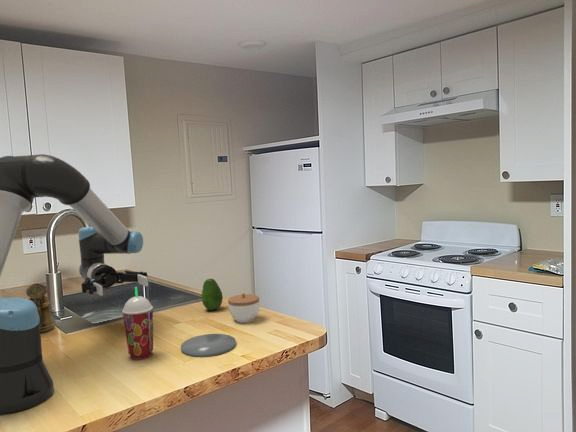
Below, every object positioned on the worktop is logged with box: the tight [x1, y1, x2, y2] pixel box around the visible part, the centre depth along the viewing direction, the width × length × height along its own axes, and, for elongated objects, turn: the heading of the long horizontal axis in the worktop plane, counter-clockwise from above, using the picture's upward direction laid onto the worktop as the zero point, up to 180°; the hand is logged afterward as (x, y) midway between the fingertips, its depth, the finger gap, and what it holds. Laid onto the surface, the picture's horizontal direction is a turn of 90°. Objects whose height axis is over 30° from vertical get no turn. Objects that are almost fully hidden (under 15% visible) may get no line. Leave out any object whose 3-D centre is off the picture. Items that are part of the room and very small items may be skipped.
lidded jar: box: [227, 292, 260, 324], centre depth 161 cm, size 11×11×9 cm
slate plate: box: [180, 333, 237, 358], centre depth 138 cm, size 16×16×1 cm
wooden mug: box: [25, 283, 56, 334], centre depth 159 cm, size 9×14×18 cm, turn 28°
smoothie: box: [121, 286, 154, 360], centre depth 133 cm, size 8×8×20 cm
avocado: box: [201, 278, 224, 311], centre depth 175 cm, size 8×8×12 cm
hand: (124, 286), depth 140 cm, fingers open, 13 cm apart
